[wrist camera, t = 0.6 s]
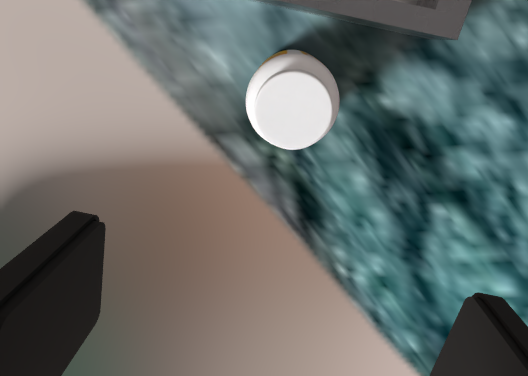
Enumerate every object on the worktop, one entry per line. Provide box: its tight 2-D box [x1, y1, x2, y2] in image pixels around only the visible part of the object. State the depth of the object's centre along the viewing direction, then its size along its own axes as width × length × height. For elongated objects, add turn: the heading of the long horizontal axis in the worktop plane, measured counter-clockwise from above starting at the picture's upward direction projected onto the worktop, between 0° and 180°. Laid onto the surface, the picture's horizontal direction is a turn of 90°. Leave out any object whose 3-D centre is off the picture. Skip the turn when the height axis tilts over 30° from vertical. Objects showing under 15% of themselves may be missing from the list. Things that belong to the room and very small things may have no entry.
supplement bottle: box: [246, 50, 339, 150], centre depth 24 cm, size 5×5×10 cm
